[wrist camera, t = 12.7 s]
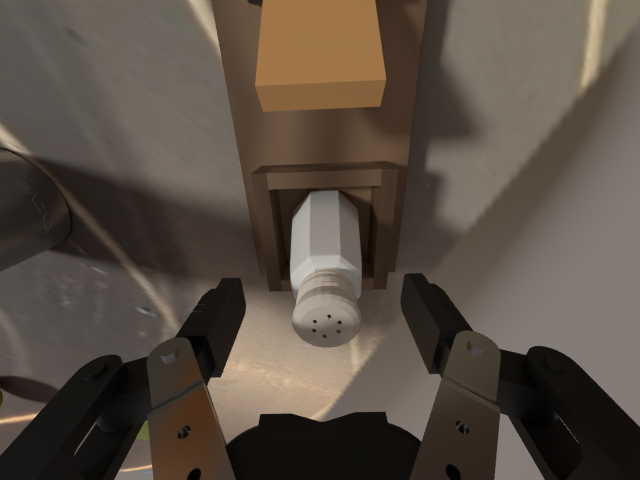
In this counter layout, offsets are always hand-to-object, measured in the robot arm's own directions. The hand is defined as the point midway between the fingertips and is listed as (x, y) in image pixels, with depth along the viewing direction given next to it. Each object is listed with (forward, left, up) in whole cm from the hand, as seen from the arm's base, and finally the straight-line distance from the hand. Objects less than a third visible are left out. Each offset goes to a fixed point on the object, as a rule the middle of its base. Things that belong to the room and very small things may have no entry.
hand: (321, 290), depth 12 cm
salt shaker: (0, 0, -9) cm, 9 cm away
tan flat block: (0, +11, -5) cm, 12 cm away
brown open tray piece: (0, +5, -10) cm, 12 cm away
